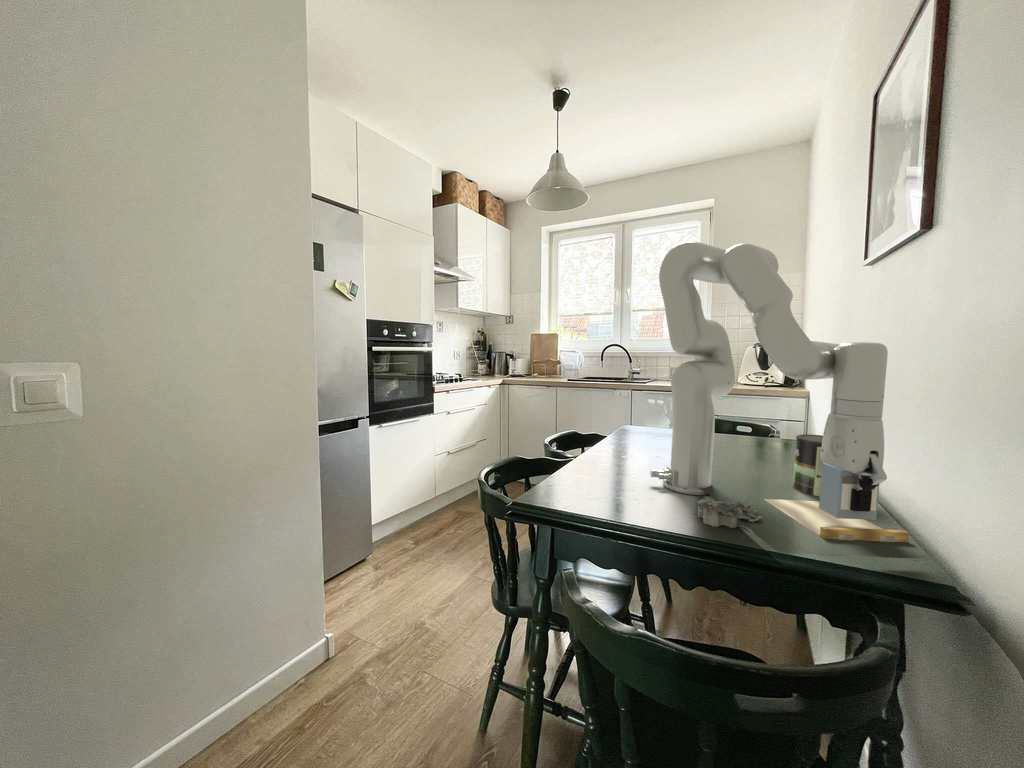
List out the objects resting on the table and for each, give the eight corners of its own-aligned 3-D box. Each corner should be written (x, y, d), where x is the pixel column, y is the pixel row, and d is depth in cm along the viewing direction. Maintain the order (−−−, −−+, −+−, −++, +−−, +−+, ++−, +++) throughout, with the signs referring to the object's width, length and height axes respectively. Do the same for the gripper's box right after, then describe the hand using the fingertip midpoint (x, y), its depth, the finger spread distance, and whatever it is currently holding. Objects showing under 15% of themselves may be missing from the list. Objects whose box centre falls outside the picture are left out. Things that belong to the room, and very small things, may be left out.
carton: (818, 508, 84) (822, 463, 84) (855, 509, 84) (859, 464, 83) (838, 518, 79) (841, 470, 78) (877, 520, 79) (881, 471, 78)
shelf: (823, 547, 76) (825, 529, 76) (762, 505, 96) (763, 491, 96) (908, 550, 75) (910, 533, 75) (829, 508, 95) (830, 494, 95)
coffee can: (786, 495, 103) (791, 437, 102) (797, 486, 111) (801, 432, 109) (839, 507, 96) (845, 445, 95) (847, 497, 103) (853, 439, 102)
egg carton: (703, 527, 84) (704, 507, 84) (694, 513, 92) (695, 494, 91) (763, 532, 82) (764, 511, 82) (748, 517, 90) (750, 498, 89)
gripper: (805, 403, 89) (799, 489, 90) (871, 415, 71) (861, 522, 73) (843, 404, 88) (836, 490, 90) (918, 417, 71) (908, 523, 73)
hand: (848, 503), depth 81 cm, fingers closed on carton, 5 cm apart
